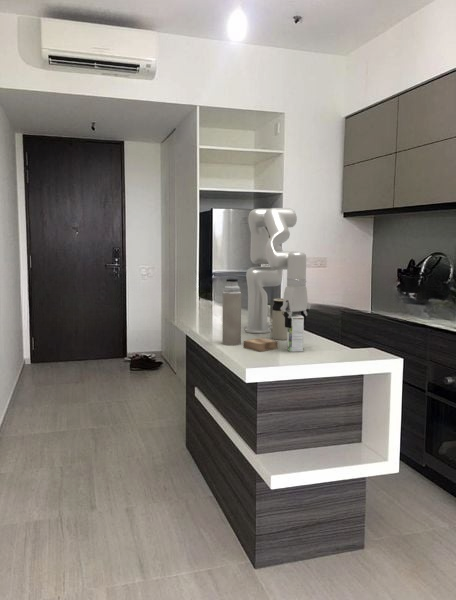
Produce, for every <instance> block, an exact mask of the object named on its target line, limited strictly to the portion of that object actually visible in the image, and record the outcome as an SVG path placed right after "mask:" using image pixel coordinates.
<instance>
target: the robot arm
mask: <svg viewBox="0 0 456 600" xmlns="http://www.w3.org/2000/svg"><path fill="white" fill-rule="evenodd" d="M247 219H248V227H249V230H250V254H249V255H250V261H251V263H252V264H255V265H269V266H251V267H250V268H248V269H247V271H246V273H245V278H246V285H247V327H246V328H244V332H245V333H249V334H268V333H271V329H270V327H272V322H269V321H268V303H269V302H268V299H269V298H268V293H267V291H266V290H265V287H277V286H280V285H281V284H282V280H283V275H284V274H283V272H284V271H283V270H285V271H286V286H285V288H284V293H283V306H282V307H281V308H280V310H281V312H282V314H283V315H284V317H285V327H287V328H291V327H292V318H290V317H291V315H292V314H293V313H296V312H299V315H302V316H303V317H304V327H306V326H307V316H308V313H309V312H310V309H311V307H312V305H311V304H310V303H309V302H308V290H307V289H308V288H307V286H306V285H307V254H306V253H305V252H299V251H294V250H293V251H288V250H287V251H286V250H285V251H284V250H283V248H282V246H281V245H283V244H284V243H286V242H287V241H288V240H289V238H290V235H291V232H290V229H289V228H293V227H295V226H296V224H297V220H298V217H297V213H296V212H295V210H294V209H292V208H290V207H288V208H287V207H272V208H254V209H252V210H251V211H249V214H248V217H247ZM266 228H267V229H266ZM288 312H289V314H288Z"/></svg>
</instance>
